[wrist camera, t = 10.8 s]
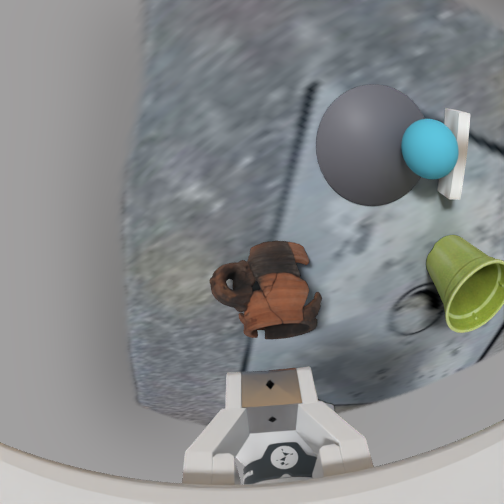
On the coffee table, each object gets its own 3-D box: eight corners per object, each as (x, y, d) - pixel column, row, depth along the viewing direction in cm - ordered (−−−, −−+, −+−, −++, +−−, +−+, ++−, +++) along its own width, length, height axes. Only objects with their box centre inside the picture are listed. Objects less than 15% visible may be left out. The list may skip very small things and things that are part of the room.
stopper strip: (447, 190, 29) (460, 199, 27) (437, 190, 29) (449, 199, 27) (455, 109, 25) (470, 113, 22) (445, 108, 25) (459, 111, 22)
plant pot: (418, 298, 37) (446, 345, 29) (407, 240, 32) (444, 286, 25) (474, 269, 35) (508, 309, 27) (470, 209, 30) (515, 246, 23)
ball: (443, 175, 27) (460, 192, 23) (393, 165, 29) (403, 180, 24) (451, 122, 24) (471, 131, 20) (399, 111, 26) (412, 116, 21)
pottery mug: (331, 245, 33) (345, 320, 29) (284, 280, 40) (291, 344, 36) (224, 221, 28) (227, 311, 24) (192, 266, 35) (192, 338, 31)
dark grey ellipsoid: (422, 203, 30) (423, 204, 30) (315, 207, 30) (316, 207, 30) (431, 91, 24) (432, 91, 24) (314, 81, 24) (314, 81, 24)
